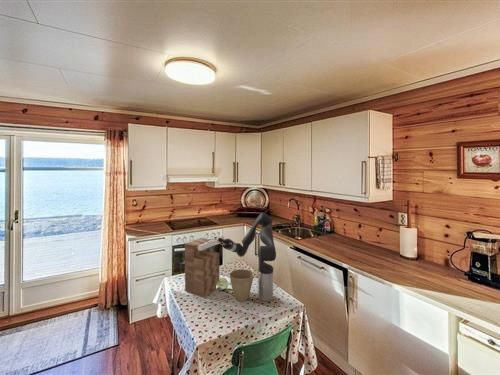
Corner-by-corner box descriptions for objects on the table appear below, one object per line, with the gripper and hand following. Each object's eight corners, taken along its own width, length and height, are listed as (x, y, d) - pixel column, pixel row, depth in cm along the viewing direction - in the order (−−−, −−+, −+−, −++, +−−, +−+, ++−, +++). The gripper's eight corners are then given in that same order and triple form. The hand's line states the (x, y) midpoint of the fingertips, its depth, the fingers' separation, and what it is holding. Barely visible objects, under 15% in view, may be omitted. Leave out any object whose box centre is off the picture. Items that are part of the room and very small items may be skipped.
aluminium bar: (220, 240, 177) (220, 236, 177) (224, 240, 175) (224, 236, 175) (197, 249, 156) (197, 245, 156) (201, 250, 155) (201, 246, 155)
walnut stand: (201, 281, 177) (201, 237, 174) (219, 287, 169) (219, 241, 166) (185, 291, 163) (184, 243, 161) (203, 297, 155) (203, 248, 153)
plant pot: (255, 294, 160) (256, 270, 159) (249, 306, 146) (249, 280, 144) (234, 291, 164) (234, 267, 163) (226, 302, 150) (226, 277, 148)
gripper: (223, 238, 189) (210, 231, 175) (238, 241, 182) (226, 234, 168) (220, 248, 186) (207, 242, 173) (235, 251, 179) (223, 245, 165)
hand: (216, 238), depth 170 cm, fingers closed on aluminium bar, 3 cm apart
